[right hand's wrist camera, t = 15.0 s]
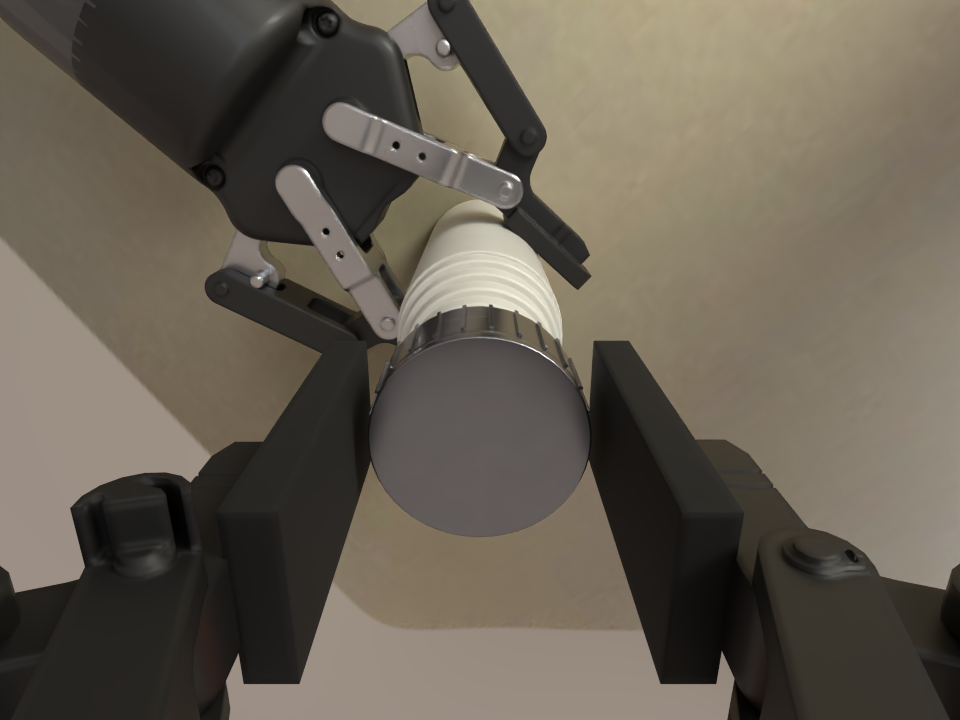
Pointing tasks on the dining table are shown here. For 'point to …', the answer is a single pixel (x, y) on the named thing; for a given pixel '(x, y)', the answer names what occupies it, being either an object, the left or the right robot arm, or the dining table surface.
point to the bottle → (478, 271)
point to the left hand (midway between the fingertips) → (531, 327)
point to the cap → (479, 423)
